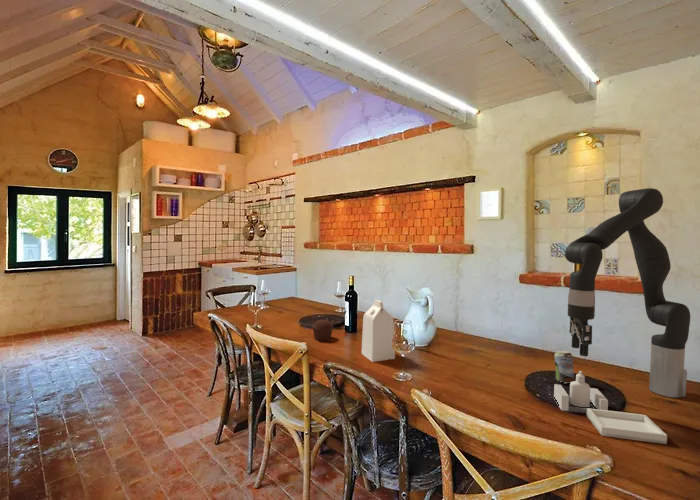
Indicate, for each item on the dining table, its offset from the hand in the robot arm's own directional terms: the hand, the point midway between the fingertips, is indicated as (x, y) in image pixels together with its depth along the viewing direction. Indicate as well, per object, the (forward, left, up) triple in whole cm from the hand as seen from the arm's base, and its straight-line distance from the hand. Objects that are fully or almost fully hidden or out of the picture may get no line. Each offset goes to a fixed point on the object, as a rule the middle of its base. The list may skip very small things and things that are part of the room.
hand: (579, 351), depth 121 cm
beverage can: (-1, -20, -19) cm, 28 cm away
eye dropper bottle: (0, +1, -19) cm, 19 cm away
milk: (+74, -29, -19) cm, 81 cm away
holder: (0, +1, -18) cm, 18 cm away
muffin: (+108, -48, -19) cm, 120 cm away
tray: (-8, +13, -18) cm, 24 cm away
